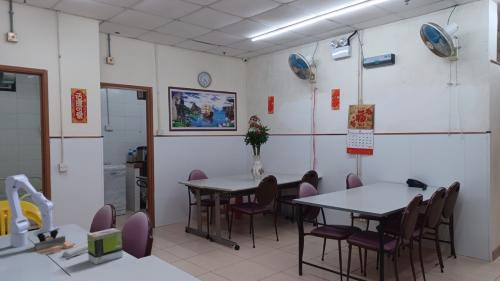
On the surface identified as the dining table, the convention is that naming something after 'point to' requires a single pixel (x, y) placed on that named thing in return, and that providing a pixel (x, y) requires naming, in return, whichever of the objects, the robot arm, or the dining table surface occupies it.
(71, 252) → the tube
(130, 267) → the dining table surface
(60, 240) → the scraper
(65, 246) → the tile
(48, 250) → the board
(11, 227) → the robot arm
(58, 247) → the pink block
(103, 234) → the tea box
